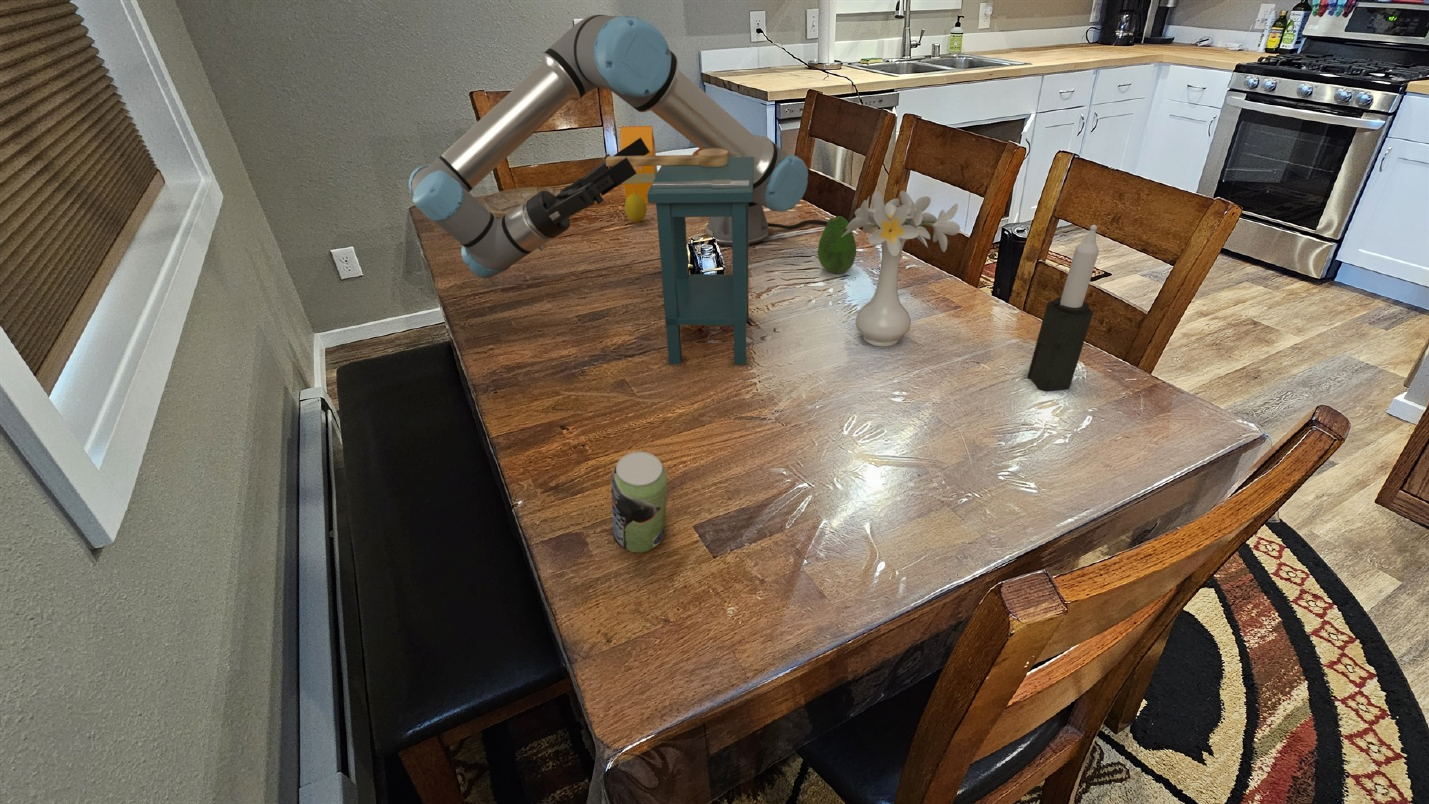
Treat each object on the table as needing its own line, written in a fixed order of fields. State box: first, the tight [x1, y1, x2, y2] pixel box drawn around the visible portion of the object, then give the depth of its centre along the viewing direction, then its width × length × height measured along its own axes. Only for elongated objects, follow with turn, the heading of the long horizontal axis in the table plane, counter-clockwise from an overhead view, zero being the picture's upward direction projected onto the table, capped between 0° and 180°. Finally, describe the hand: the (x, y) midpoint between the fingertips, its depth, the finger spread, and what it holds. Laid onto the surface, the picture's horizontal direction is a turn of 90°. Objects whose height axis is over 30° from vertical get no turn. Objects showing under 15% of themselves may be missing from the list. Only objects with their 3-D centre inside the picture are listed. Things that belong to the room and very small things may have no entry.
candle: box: [1027, 224, 1100, 392], centre depth 96 cm, size 5×5×25 cm
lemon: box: [624, 193, 647, 225], centre depth 169 cm, size 6×6×8 cm
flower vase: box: [841, 190, 961, 348], centre depth 109 cm, size 13×18×25 cm
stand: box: [647, 157, 754, 366], centre depth 110 cm, size 15×20×29 cm
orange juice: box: [619, 125, 658, 205], centre depth 183 cm, size 8×9×20 cm
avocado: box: [817, 215, 857, 274], centre depth 138 cm, size 8×8×12 cm
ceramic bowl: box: [478, 186, 562, 219], centre depth 178 cm, size 23×24×5 cm
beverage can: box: [610, 451, 668, 553], centre depth 74 cm, size 6×7×12 cm
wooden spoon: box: [605, 148, 728, 167], centre depth 107 cm, size 20×5×2 cm, turn 86°
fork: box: [653, 180, 749, 189], centre depth 96 cm, size 14×2×1 cm, turn 86°
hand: (638, 154), depth 106 cm, fingers open, 13 cm apart
